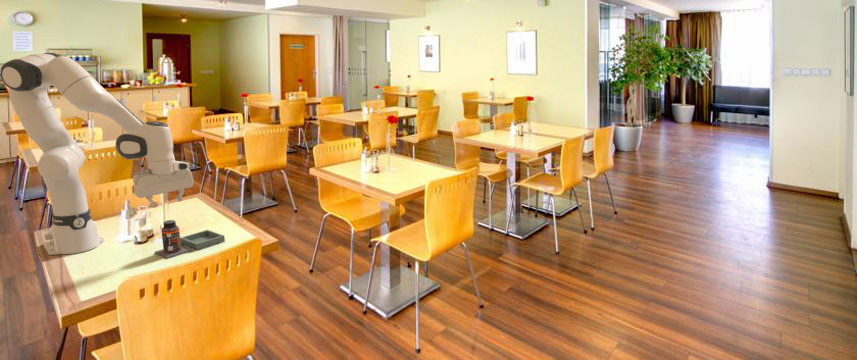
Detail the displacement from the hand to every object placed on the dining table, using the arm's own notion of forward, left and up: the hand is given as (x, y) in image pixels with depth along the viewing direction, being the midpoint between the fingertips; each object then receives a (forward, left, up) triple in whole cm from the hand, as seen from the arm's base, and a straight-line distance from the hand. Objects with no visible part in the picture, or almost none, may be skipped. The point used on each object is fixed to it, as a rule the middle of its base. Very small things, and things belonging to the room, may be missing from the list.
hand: (167, 204), depth 192 cm
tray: (0, +12, -19) cm, 22 cm away
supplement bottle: (0, 0, -18) cm, 18 cm away
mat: (0, 0, -19) cm, 19 cm away
